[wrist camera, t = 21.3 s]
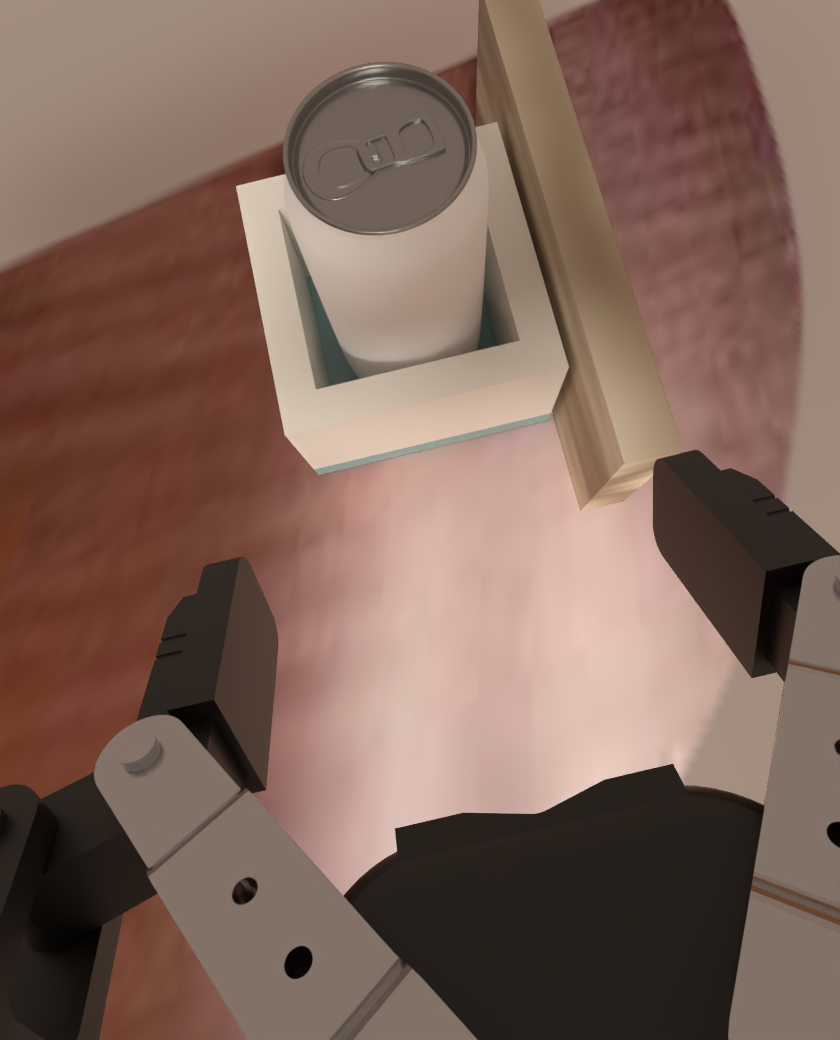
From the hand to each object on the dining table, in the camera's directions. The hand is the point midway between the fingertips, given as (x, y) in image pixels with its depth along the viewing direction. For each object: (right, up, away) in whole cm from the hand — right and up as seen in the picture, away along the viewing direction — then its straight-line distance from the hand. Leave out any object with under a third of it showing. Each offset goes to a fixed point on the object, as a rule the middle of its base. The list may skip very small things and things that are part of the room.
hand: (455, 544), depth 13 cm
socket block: (-1, +9, +19) cm, 21 cm away
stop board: (+5, +11, +19) cm, 22 cm away
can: (-1, +9, +18) cm, 20 cm away
